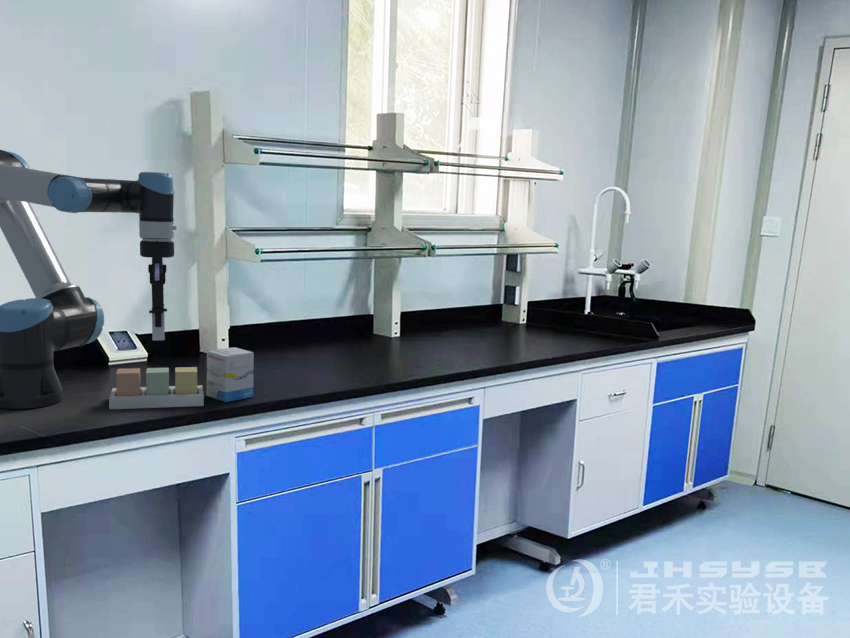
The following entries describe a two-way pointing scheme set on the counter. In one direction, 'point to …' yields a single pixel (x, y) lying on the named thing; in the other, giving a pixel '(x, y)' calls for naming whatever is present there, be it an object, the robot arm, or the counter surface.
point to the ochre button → (186, 380)
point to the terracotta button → (128, 382)
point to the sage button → (157, 381)
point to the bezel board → (156, 399)
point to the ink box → (230, 374)
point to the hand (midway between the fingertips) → (158, 339)
